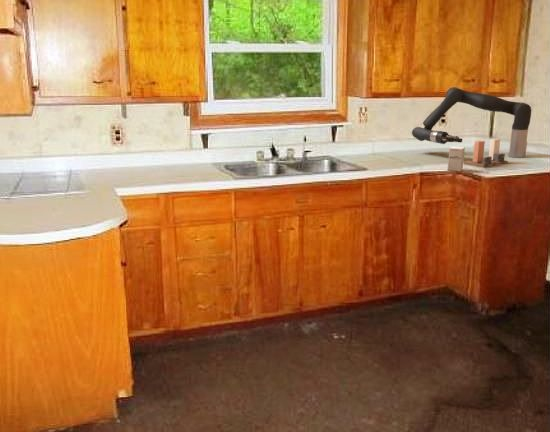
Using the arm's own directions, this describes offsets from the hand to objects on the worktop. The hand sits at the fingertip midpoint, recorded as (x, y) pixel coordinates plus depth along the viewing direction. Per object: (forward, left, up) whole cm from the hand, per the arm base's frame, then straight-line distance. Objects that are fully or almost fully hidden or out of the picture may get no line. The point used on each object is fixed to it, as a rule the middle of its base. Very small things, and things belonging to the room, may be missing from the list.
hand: (461, 140), depth 318 cm
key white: (-14, +13, -11) cm, 22 cm away
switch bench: (-7, +13, -13) cm, 20 cm away
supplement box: (+22, +15, -13) cm, 30 cm away
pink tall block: (0, +13, -11) cm, 17 cm away
